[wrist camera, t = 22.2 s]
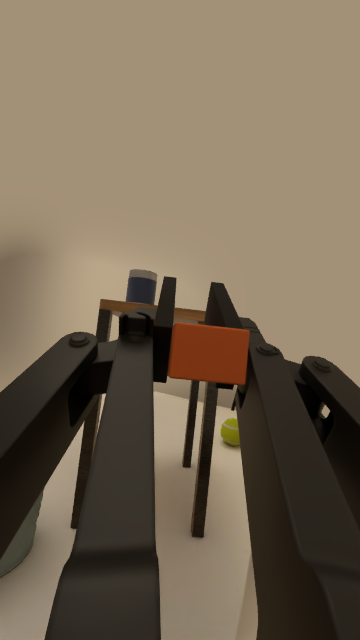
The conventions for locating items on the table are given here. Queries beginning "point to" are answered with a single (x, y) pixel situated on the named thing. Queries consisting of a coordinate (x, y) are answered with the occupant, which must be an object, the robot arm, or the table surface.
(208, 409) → the side table
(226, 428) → the tennis ball
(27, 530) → the green cup
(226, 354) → the spatula
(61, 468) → the table surface
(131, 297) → the tin can
